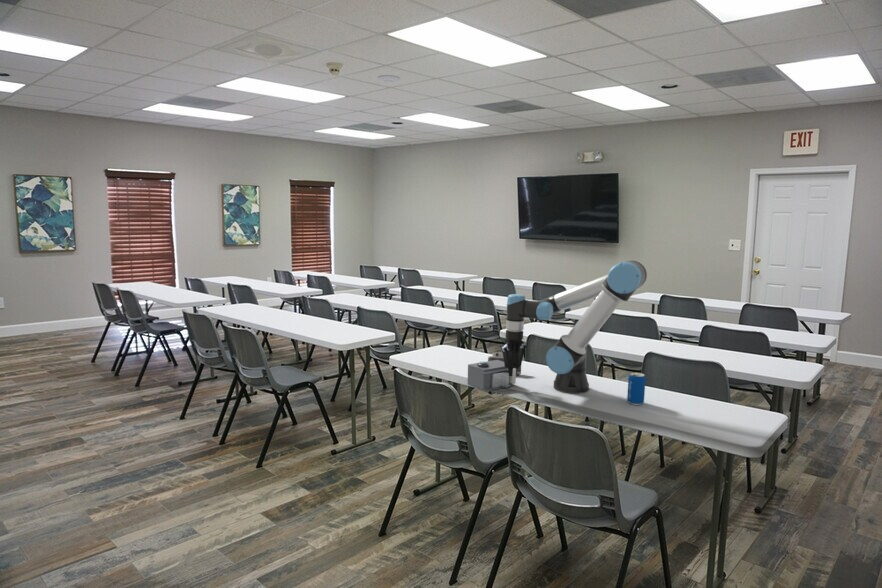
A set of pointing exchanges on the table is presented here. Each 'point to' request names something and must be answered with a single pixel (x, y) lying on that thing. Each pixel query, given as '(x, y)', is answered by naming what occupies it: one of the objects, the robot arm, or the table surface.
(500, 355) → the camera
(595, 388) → the table surface
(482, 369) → the sliding door box
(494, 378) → the side door
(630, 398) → the beverage can
